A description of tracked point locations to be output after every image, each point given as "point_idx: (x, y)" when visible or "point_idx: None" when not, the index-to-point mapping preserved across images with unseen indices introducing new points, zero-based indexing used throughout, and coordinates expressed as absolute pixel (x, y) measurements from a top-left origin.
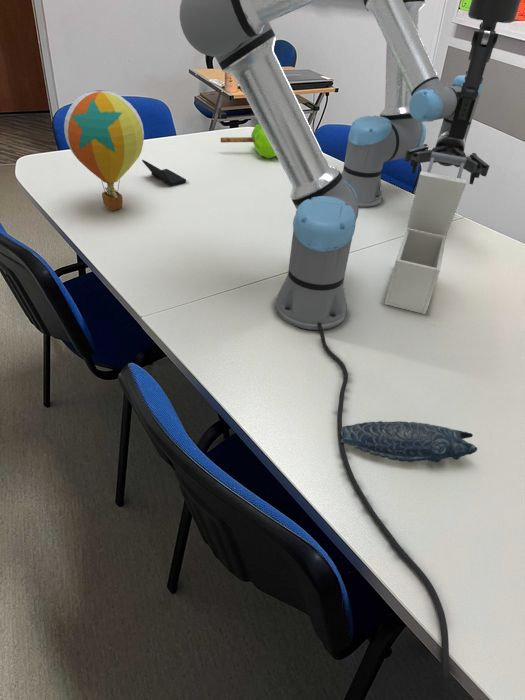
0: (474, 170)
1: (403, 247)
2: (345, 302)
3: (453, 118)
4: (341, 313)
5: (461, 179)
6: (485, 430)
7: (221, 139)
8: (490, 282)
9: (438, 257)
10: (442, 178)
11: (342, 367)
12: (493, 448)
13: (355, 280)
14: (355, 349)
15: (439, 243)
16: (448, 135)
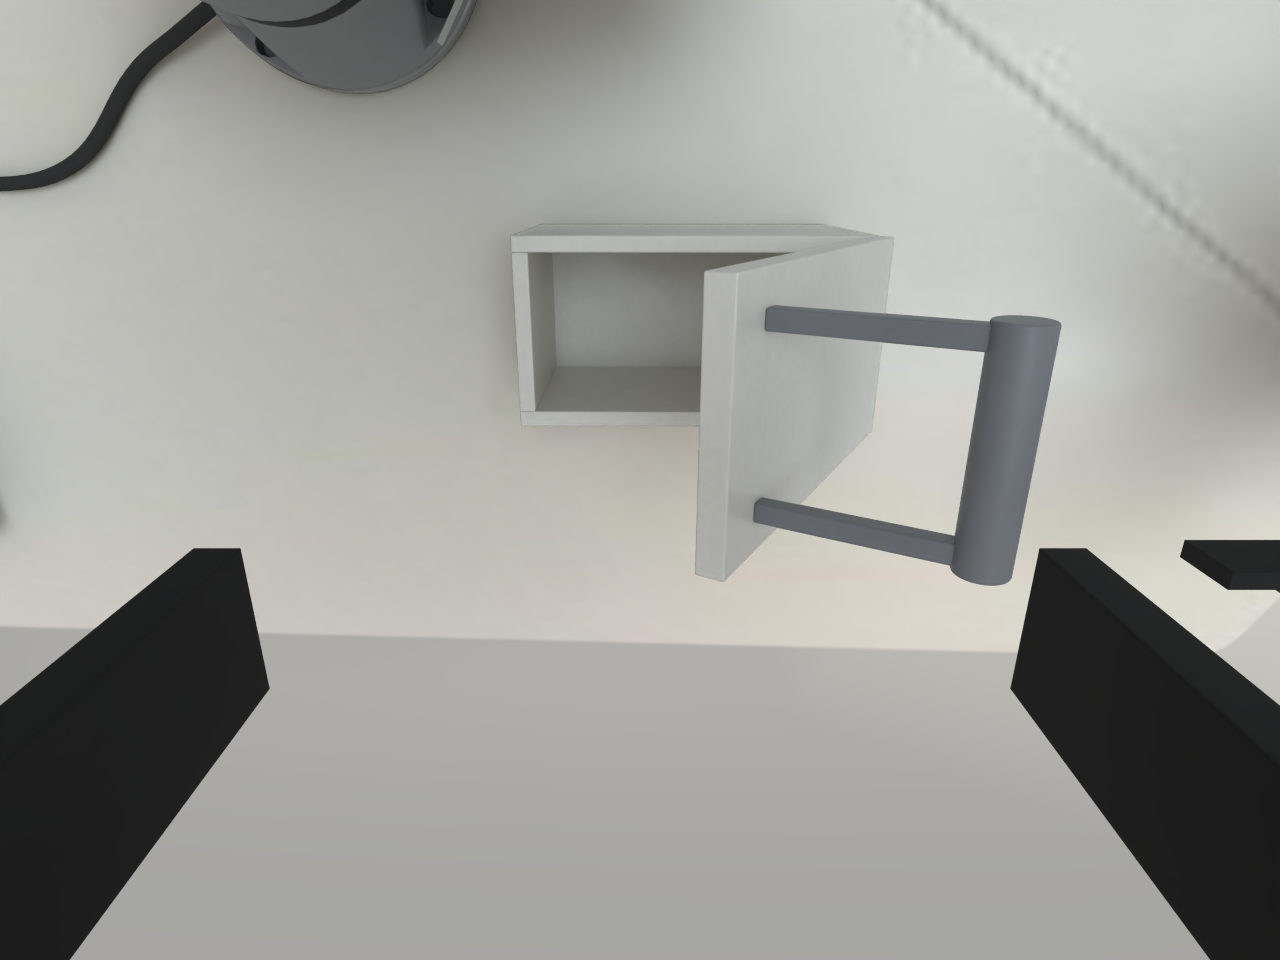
0: (1277, 578)
1: (656, 250)
2: (348, 73)
3: (54, 664)
4: (299, 76)
5: (719, 550)
6: (108, 562)
7: None
8: (866, 565)
9: (647, 410)
10: (703, 432)
11: (67, 157)
12: (60, 578)
13: (662, 71)
14: (211, 177)
15: None
16: (184, 557)
